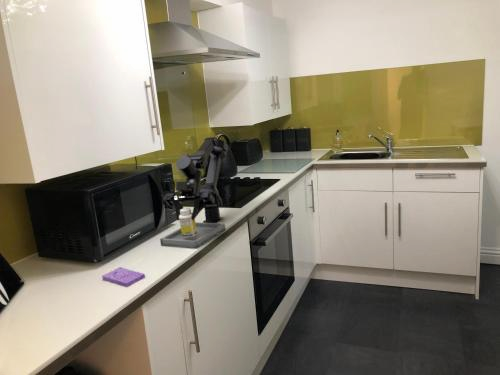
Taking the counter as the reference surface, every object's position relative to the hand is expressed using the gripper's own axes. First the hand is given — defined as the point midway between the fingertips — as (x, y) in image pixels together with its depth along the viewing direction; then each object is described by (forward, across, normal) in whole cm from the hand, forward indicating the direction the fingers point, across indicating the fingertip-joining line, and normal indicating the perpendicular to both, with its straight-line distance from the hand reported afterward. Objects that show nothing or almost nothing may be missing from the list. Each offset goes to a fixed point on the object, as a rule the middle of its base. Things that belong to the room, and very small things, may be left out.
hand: (185, 219), depth 151 cm
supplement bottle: (+4, 0, +6) cm, 7 cm away
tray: (+3, 0, +10) cm, 10 cm away
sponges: (+28, -9, -15) cm, 33 cm away
